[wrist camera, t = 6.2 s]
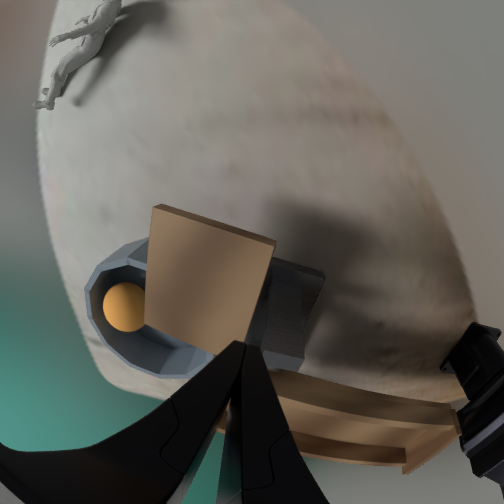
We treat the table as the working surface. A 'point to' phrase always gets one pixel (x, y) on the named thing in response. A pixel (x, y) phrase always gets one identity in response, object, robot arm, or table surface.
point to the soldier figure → (80, 48)
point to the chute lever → (285, 382)
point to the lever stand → (284, 313)
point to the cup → (146, 338)
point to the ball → (125, 306)
